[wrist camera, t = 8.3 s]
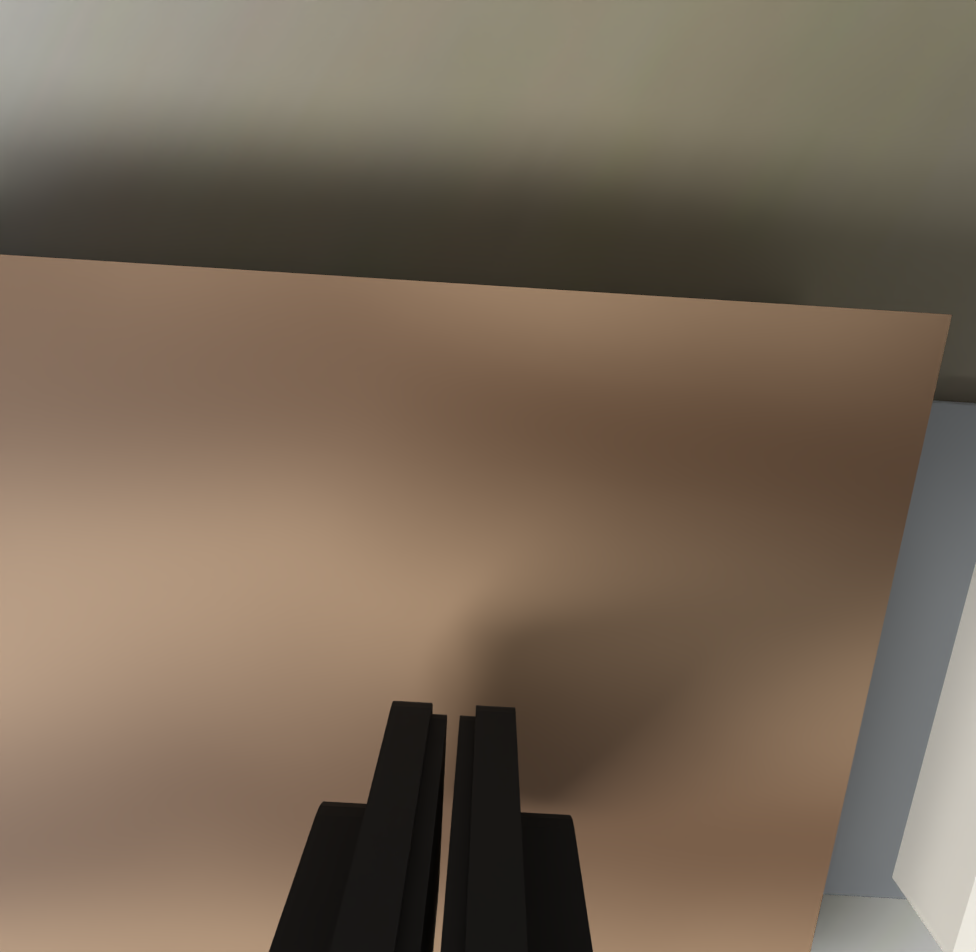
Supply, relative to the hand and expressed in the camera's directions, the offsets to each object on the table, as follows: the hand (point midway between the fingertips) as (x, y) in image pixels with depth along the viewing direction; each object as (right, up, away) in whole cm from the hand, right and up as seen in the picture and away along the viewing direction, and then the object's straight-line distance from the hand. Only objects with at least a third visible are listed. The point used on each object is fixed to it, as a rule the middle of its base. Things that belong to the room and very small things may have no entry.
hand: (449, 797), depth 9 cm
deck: (-3, 0, +5) cm, 6 cm away
